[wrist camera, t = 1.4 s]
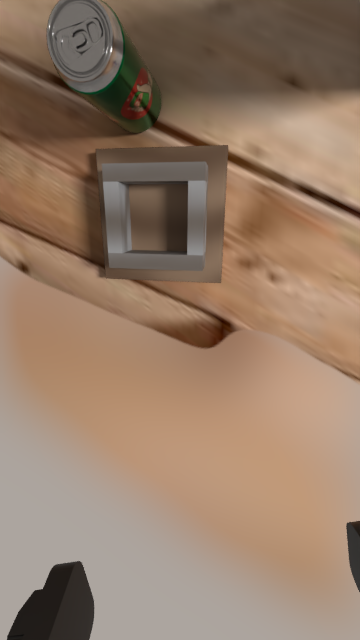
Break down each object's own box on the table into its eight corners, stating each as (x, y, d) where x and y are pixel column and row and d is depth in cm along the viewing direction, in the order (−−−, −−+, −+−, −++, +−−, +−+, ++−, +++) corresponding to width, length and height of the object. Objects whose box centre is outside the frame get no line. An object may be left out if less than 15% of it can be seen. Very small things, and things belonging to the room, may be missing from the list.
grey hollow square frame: (101, 151, 31) (81, 142, 27) (228, 148, 29) (227, 137, 25) (110, 275, 36) (94, 283, 32) (221, 280, 34) (219, 289, 30)
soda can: (104, 87, 29) (26, 10, 18) (151, 62, 28) (98, -37, 17) (124, 142, 31) (62, 102, 20) (169, 121, 29) (131, 65, 18)
